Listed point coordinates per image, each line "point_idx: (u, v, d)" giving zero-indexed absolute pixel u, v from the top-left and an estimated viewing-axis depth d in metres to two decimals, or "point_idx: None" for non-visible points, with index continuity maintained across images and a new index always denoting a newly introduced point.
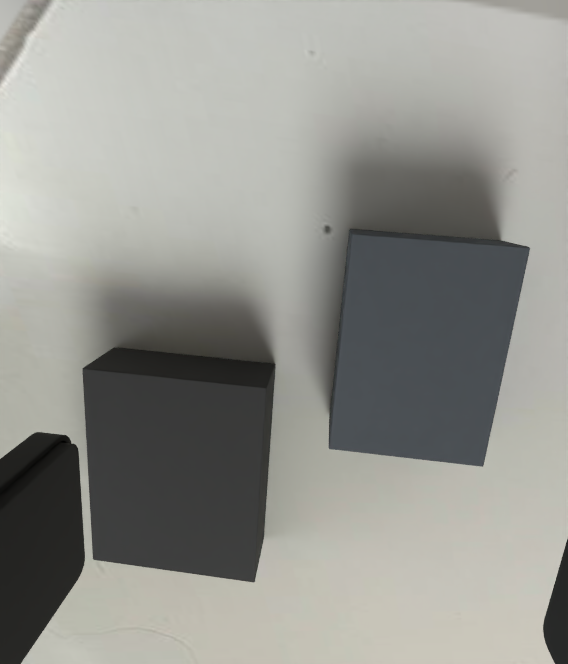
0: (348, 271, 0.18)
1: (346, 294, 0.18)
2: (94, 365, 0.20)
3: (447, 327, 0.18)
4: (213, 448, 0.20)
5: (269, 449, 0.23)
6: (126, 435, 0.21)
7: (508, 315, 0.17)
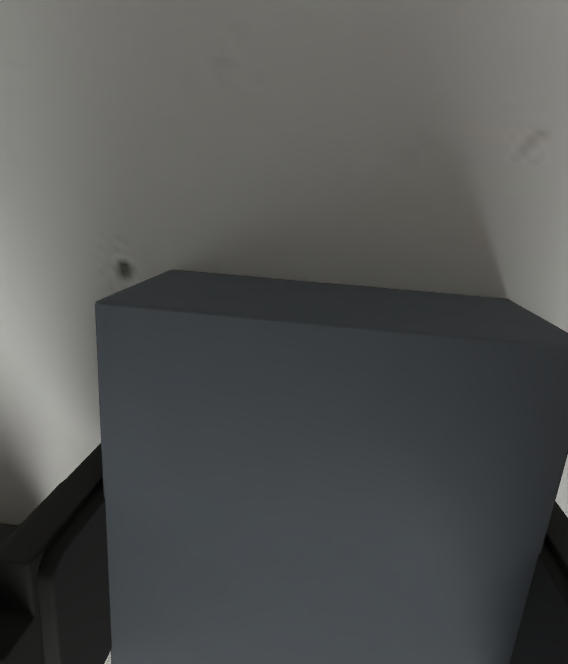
0: (102, 397, 0.07)
1: (103, 454, 0.07)
2: None
3: (368, 543, 0.07)
4: None
5: None
6: None
7: (529, 522, 0.06)
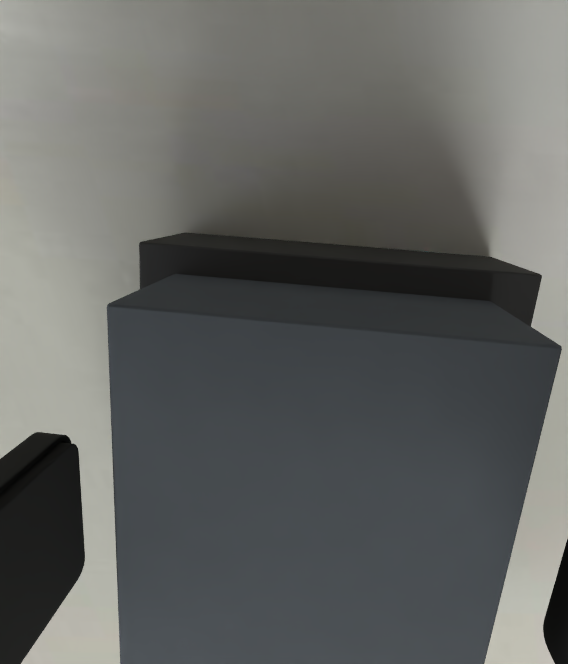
0: (113, 392, 0.07)
1: (113, 445, 0.07)
2: (161, 241, 0.10)
3: (357, 526, 0.07)
4: None
5: None
6: None
7: (505, 506, 0.07)
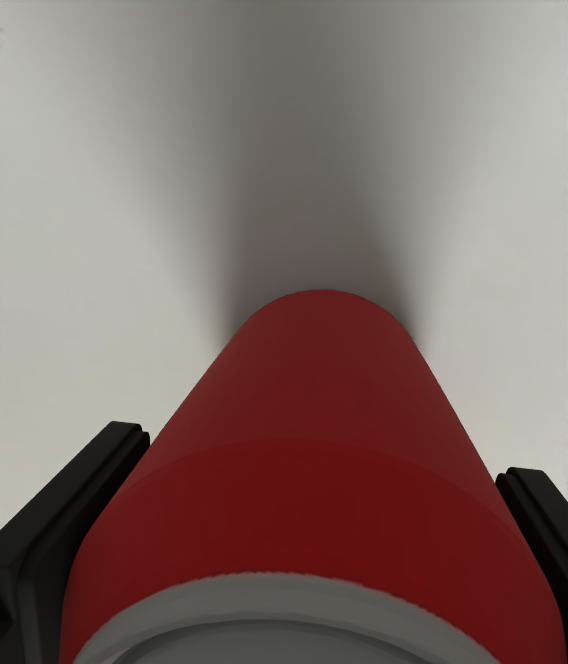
0: None
1: None
2: None
3: None
4: None
5: None
6: None
7: None
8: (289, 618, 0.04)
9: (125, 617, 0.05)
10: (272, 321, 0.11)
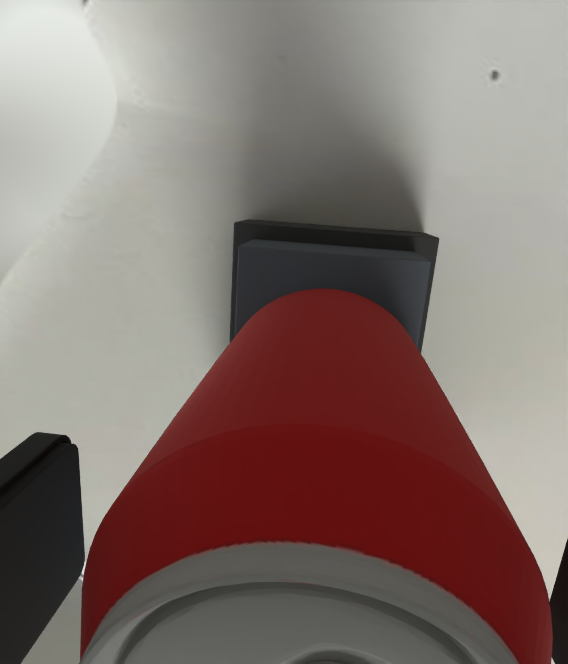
0: (237, 286, 0.16)
1: (236, 312, 0.16)
2: (244, 222, 0.19)
3: None
4: None
5: None
6: None
7: (411, 335, 0.16)
8: (297, 580, 0.04)
9: (147, 584, 0.05)
10: (275, 318, 0.12)
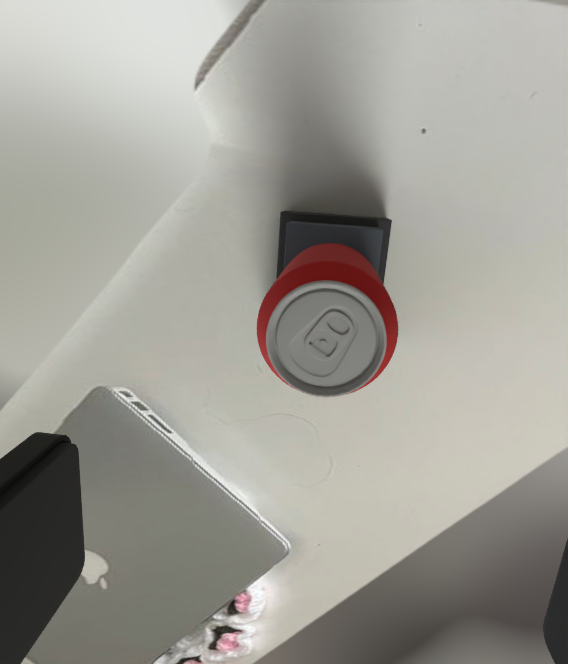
0: (285, 244, 0.32)
1: (285, 257, 0.32)
2: None
3: None
4: None
5: None
6: None
7: (374, 268, 0.31)
8: (326, 283, 0.20)
9: (289, 293, 0.20)
10: (309, 251, 0.27)
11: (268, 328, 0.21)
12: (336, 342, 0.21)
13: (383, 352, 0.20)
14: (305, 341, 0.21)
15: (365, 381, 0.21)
